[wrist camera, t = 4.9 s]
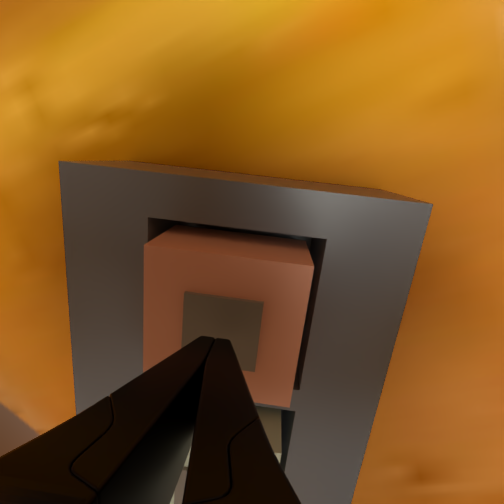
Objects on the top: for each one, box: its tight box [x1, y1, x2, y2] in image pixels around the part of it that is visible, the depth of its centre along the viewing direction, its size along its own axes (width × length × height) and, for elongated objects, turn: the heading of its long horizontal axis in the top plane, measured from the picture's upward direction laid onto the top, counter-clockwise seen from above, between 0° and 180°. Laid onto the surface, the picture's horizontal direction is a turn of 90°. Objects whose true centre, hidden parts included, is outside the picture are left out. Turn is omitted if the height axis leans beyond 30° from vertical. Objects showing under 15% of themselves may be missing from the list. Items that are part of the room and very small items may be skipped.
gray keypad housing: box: [59, 161, 433, 504], centre depth 16 cm, size 23×12×5 cm, turn 174°
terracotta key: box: [143, 225, 314, 408], centre depth 11 cm, size 5×5×3 cm
